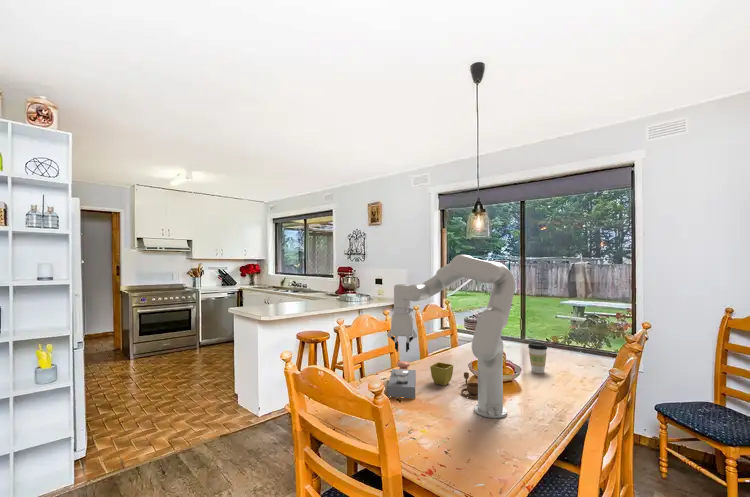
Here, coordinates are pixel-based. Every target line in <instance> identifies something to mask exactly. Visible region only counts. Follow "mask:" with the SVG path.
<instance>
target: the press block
mask: <svg viewBox="0 0 750 497" xmlns="http://www.w3.org/2000/svg"><path fill="white" fill-rule="evenodd" d="M398 369H399V368H395V369H394V368H392V369H391V373H390V377H389V381H388V385H387V397H388V396H389V397H390V396H391V397H404V398H415V399H416V389H415V388H416V386H417V385H416V383H417V382H416V381H417V379H416V378H417V376H416V374H417V372H416V369H407V370H408V371H409V375H407V384H398V375H396V370H398ZM404 398H403V399H404Z"/></svg>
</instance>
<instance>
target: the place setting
mask: <svg viewBox="0 0 750 497" xmlns="http://www.w3.org/2000/svg"><path fill="white" fill-rule="evenodd" d="M463 378H464V379H465V381H464V382H465V385H466V387H464V388H462V387H461V386H460V387H458V389H461V390H460V391H461V392H460V393H461V395H462V396H463V397H465V398H467V397H468V398H467V399H470V398H472V399H471V400H478V382H468V379H469V378H470V373H469V372H463ZM464 391H466V392H467V393H469V394H470V395H469V394H466V393H465V392H464ZM463 392H464V393H463ZM472 395H473V396H472Z"/></svg>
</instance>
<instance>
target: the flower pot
mask: <svg viewBox="0 0 750 497" xmlns="http://www.w3.org/2000/svg"><path fill="white" fill-rule="evenodd" d="M429 367H430V374H431V378H432V381H433V383H434V384H435V383H436V385H439V384H441V385H440V386H444V385H445V386H446V385H448V384H450V382H451V380H452V377H453V373H454V364H450V363H444V362H439V361H438V362H436V363H434V364H431V365H430V366H429Z"/></svg>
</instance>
